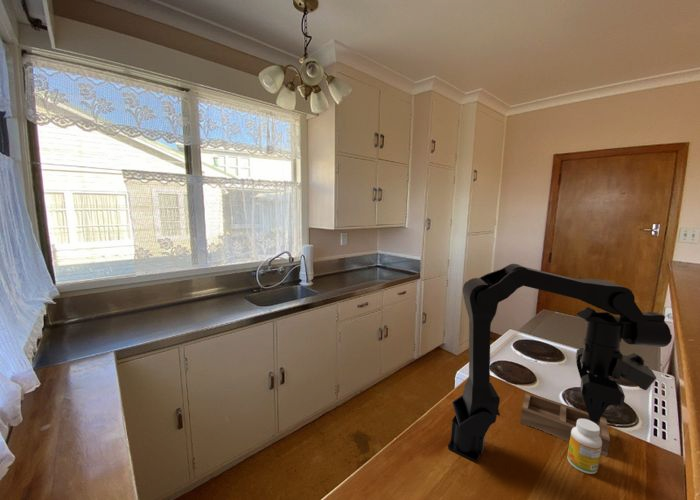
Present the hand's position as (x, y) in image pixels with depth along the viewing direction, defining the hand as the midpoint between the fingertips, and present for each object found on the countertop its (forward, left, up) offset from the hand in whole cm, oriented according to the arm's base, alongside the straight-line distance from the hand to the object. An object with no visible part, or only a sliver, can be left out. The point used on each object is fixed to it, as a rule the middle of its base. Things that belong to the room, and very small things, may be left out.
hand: (591, 409), depth 66 cm
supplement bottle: (0, -1, -13) cm, 13 cm away
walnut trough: (-4, +10, -13) cm, 17 cm away
